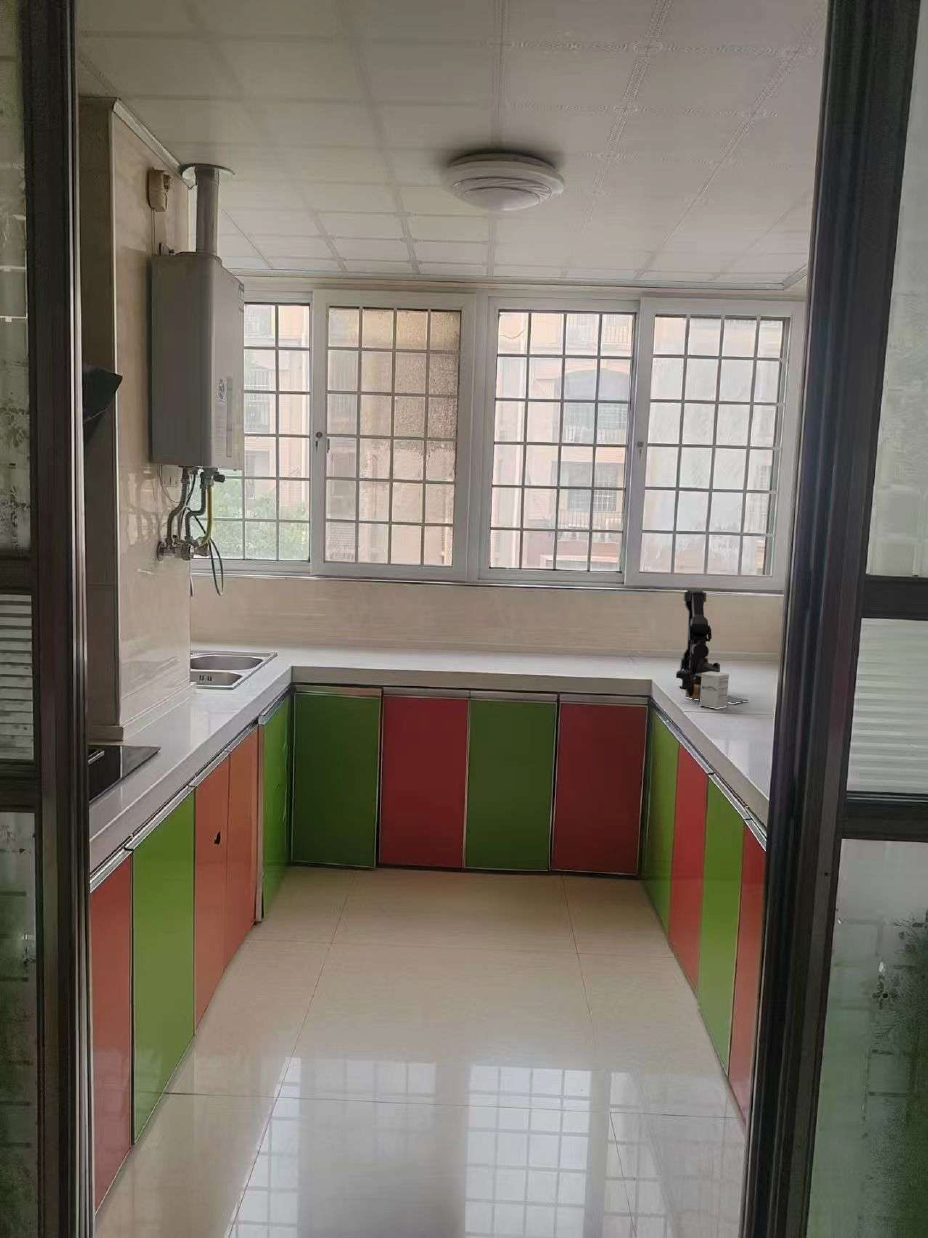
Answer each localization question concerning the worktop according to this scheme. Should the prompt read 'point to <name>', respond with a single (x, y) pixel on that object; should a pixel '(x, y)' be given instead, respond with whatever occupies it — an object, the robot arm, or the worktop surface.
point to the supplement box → (714, 689)
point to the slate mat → (735, 699)
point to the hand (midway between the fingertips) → (695, 695)
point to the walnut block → (695, 692)
